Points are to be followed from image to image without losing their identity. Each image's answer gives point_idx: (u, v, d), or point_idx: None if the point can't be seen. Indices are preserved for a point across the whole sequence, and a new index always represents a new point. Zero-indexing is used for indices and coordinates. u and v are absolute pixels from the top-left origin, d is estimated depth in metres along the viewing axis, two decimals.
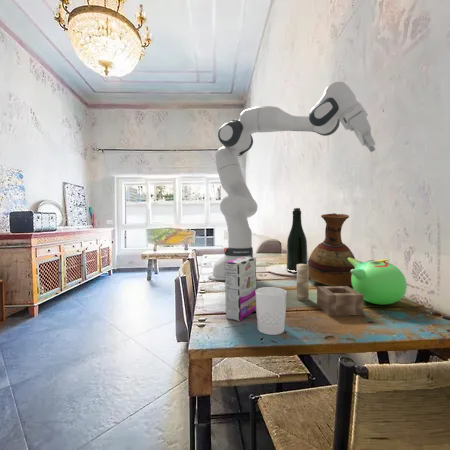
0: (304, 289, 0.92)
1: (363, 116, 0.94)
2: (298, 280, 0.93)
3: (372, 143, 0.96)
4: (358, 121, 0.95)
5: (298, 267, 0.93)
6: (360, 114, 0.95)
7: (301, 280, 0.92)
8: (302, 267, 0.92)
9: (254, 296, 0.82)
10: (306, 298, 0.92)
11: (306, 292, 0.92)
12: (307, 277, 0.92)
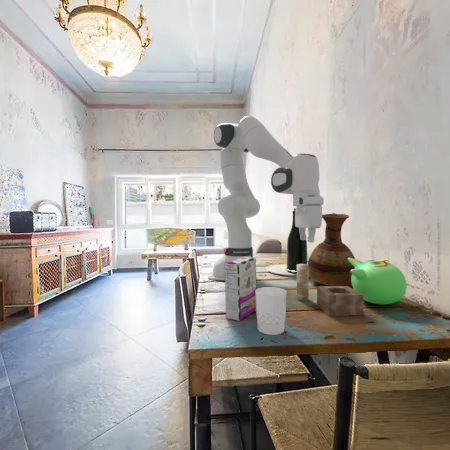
0: (304, 289, 0.92)
1: (320, 212, 0.83)
2: (298, 280, 0.93)
3: (311, 240, 0.88)
4: (313, 214, 0.83)
5: (298, 267, 0.93)
6: (318, 207, 0.84)
7: (301, 280, 0.92)
8: (302, 267, 0.92)
9: (254, 296, 0.82)
10: (306, 298, 0.92)
11: (306, 292, 0.92)
12: (307, 277, 0.92)
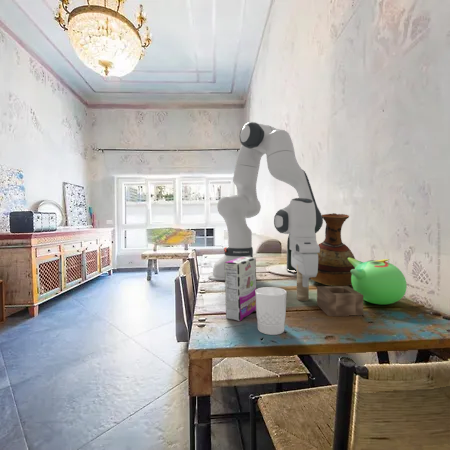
0: (304, 289, 0.92)
1: (316, 261, 0.84)
2: (298, 280, 0.93)
3: (305, 285, 0.91)
4: (309, 263, 0.84)
5: None
6: (315, 257, 0.85)
7: (301, 280, 0.92)
8: None
9: (254, 296, 0.82)
10: (306, 298, 0.92)
11: (306, 292, 0.92)
12: None
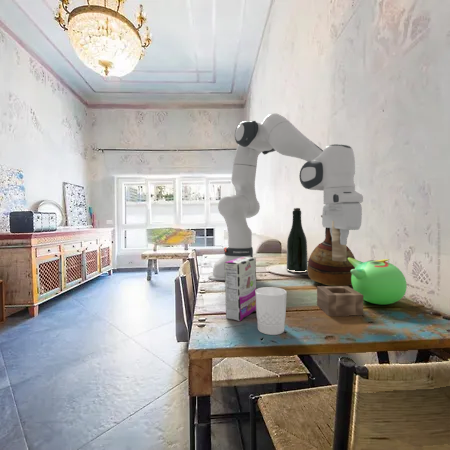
0: (341, 248, 0.81)
1: (360, 211, 0.73)
2: (334, 238, 0.81)
3: (344, 242, 0.79)
4: (352, 213, 0.72)
5: None
6: (358, 206, 0.73)
7: (338, 237, 0.81)
8: None
9: (254, 296, 0.82)
10: (344, 259, 0.81)
11: (344, 251, 0.81)
12: None
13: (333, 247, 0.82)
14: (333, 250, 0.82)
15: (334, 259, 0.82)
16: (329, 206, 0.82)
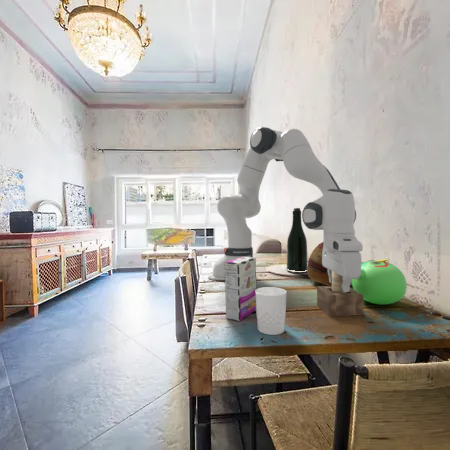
0: None
1: (359, 261, 0.73)
2: (334, 288, 0.82)
3: (346, 289, 0.78)
4: (351, 263, 0.73)
5: (334, 274, 0.82)
6: (357, 255, 0.73)
7: (338, 288, 0.81)
8: None
9: (254, 296, 0.82)
10: None
11: None
12: None
13: None
14: None
15: None
16: (329, 250, 0.82)
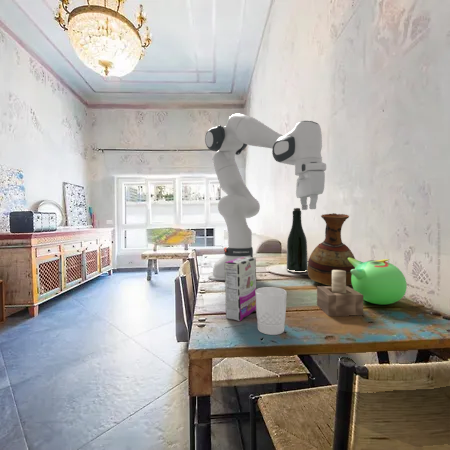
0: None
1: (323, 177, 0.83)
2: (334, 288, 0.82)
3: (313, 207, 0.88)
4: (316, 179, 0.83)
5: (334, 274, 0.82)
6: (321, 173, 0.84)
7: (338, 288, 0.81)
8: (339, 274, 0.81)
9: (254, 296, 0.82)
10: None
11: None
12: (344, 285, 0.81)
13: None
14: None
15: None
16: (299, 176, 0.92)
